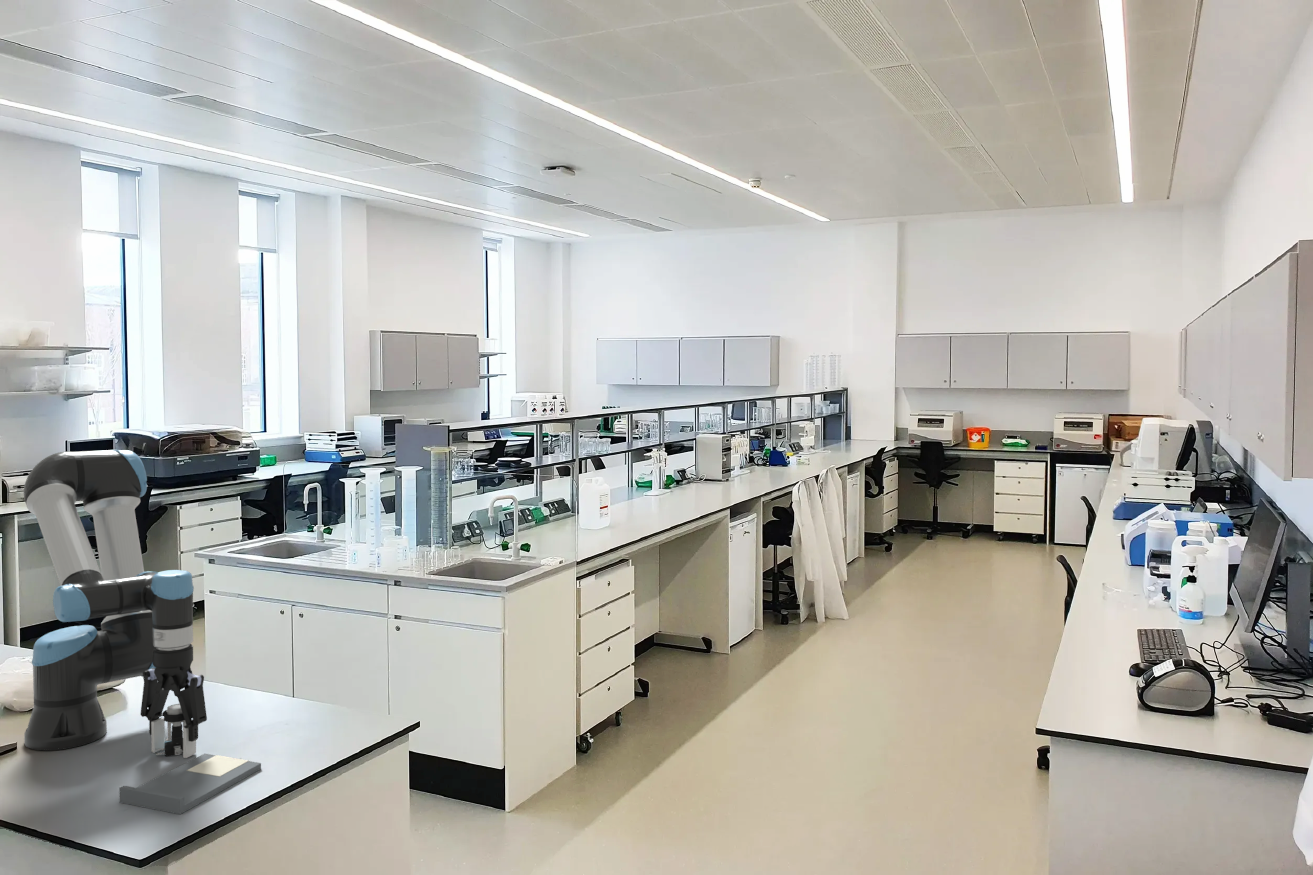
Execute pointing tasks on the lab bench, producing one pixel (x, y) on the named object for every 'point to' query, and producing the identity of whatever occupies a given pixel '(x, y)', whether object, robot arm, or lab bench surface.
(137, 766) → the lab bench surface
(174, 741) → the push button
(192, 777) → the grey lipped board
